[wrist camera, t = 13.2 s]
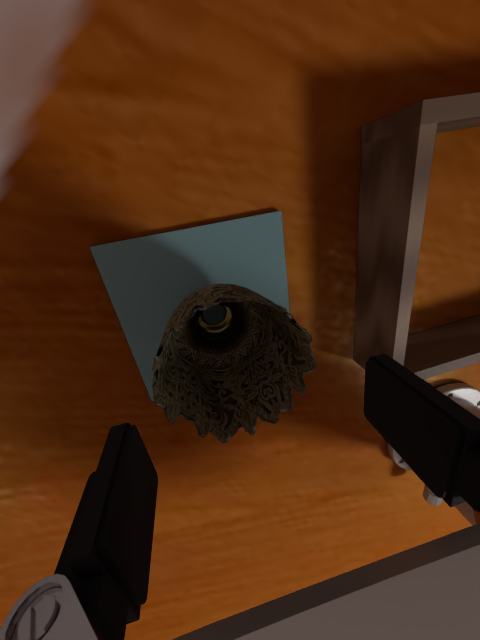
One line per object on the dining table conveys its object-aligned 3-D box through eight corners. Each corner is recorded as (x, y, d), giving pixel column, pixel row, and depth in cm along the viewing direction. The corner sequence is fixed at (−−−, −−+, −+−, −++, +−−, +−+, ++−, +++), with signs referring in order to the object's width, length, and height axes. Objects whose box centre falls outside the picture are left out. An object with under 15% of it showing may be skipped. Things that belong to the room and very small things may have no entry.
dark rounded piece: (136, 316, 17) (110, 391, 10) (214, 237, 17) (245, 260, 9) (213, 374, 21) (234, 463, 14) (281, 311, 20) (342, 369, 13)
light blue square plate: (291, 358, 22) (293, 361, 22) (152, 398, 21) (151, 401, 20) (279, 210, 17) (281, 210, 17) (91, 246, 16) (89, 247, 15)
